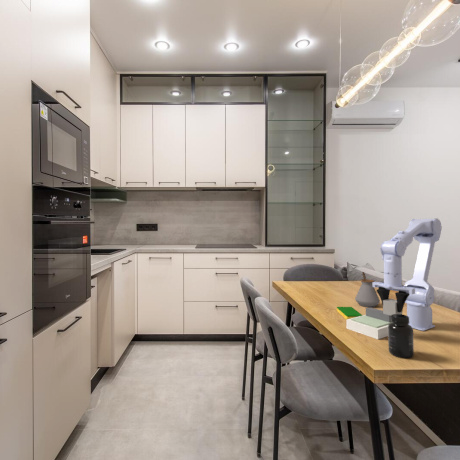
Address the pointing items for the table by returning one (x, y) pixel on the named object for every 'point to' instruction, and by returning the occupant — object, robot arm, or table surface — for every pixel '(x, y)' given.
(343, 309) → the dish sponge
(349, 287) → the table surface
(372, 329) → the trapdoor frame
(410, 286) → the robot arm
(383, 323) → the trapdoor
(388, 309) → the grey block
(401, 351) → the supplement bottle
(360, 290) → the coffee pot
